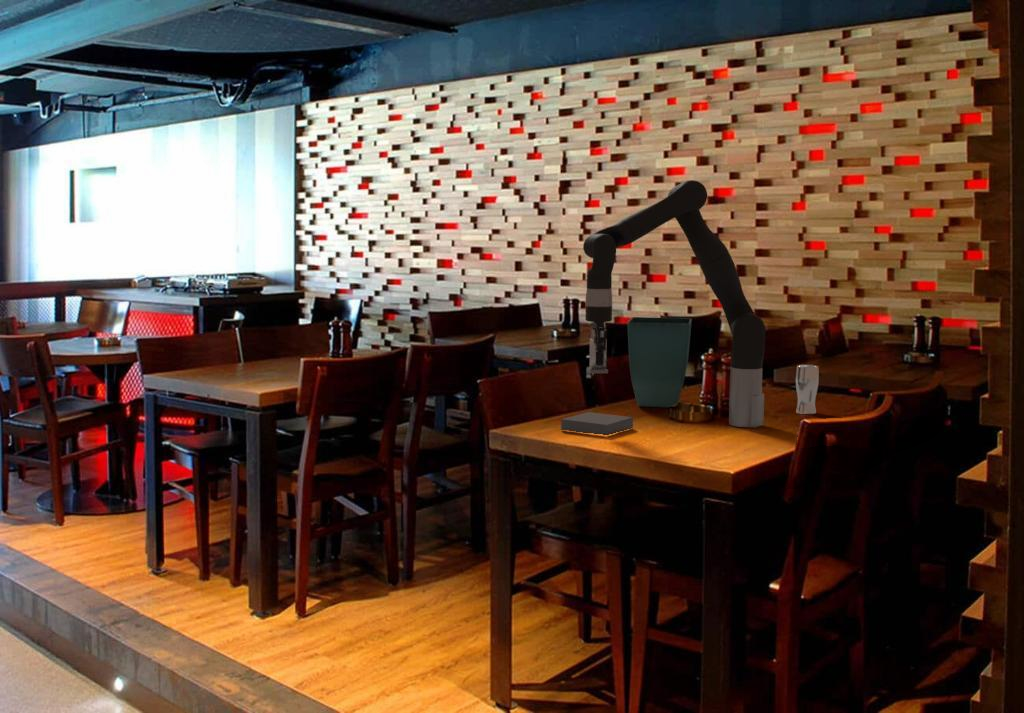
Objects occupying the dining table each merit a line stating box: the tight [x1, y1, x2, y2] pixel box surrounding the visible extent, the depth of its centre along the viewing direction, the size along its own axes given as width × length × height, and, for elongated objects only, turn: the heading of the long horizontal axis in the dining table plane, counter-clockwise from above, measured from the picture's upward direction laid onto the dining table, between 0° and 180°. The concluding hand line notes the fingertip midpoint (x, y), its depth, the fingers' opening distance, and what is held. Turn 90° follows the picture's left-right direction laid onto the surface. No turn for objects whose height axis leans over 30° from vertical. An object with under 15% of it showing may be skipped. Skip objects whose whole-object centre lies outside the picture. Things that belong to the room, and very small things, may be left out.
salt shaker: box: [587, 334, 609, 374], centre depth 291 cm, size 5×5×11 cm
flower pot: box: [627, 316, 693, 408], centre depth 337 cm, size 20×20×28 cm
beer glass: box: [795, 364, 820, 415], centre depth 323 cm, size 7×7×15 cm
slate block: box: [560, 411, 634, 435], centre depth 294 cm, size 15×15×4 cm
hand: (598, 363), depth 292 cm, fingers closed on salt shaker, 4 cm apart
